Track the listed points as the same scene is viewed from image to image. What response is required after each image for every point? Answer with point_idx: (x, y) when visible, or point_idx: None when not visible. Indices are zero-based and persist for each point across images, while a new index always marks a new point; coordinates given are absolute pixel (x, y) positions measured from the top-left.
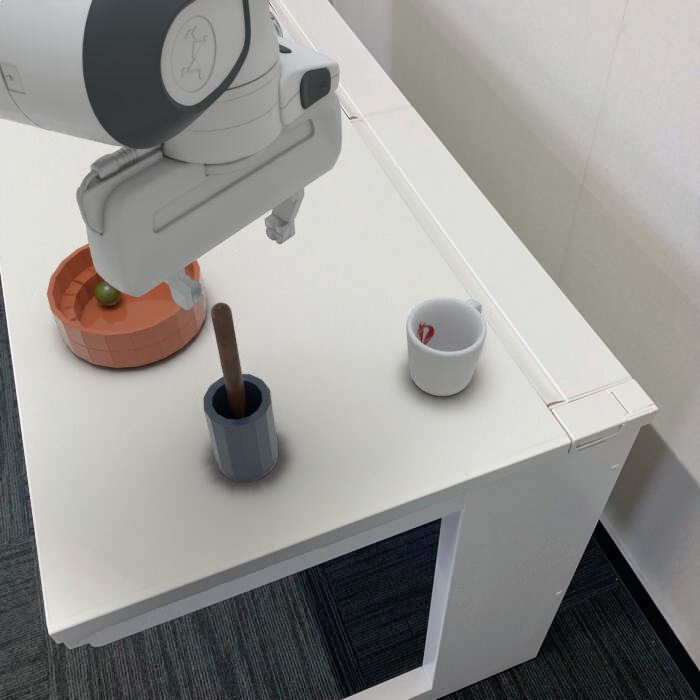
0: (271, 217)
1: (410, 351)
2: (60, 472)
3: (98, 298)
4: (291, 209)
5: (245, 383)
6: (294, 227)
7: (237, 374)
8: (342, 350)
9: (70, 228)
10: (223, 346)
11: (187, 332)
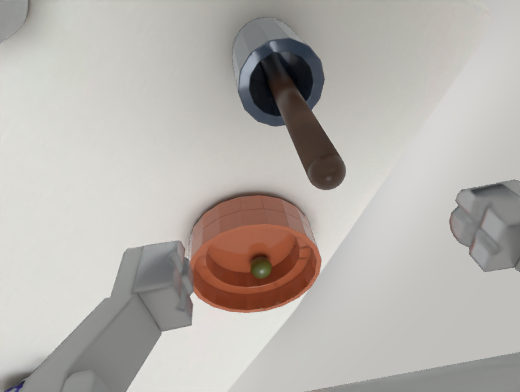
0: (171, 323)
1: (4, 15)
2: (388, 146)
3: (271, 266)
4: (106, 337)
5: (255, 102)
6: (119, 270)
7: (294, 95)
8: (97, 106)
9: (240, 320)
10: (321, 127)
11: (232, 206)
